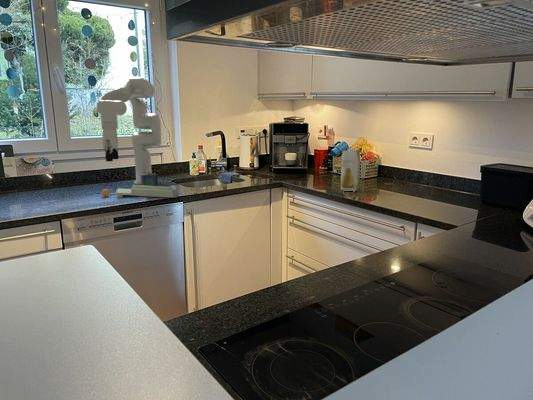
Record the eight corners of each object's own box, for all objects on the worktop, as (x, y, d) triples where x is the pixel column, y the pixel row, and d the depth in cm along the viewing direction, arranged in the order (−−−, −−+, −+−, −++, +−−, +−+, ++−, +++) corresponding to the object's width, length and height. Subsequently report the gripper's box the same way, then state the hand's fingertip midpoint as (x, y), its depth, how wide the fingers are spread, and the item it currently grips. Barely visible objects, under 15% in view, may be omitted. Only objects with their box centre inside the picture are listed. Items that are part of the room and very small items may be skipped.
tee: (103, 199, 211) (103, 196, 211) (109, 198, 212) (108, 195, 212) (103, 200, 209) (103, 197, 209) (108, 199, 210) (108, 196, 209)
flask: (141, 190, 232) (140, 172, 229) (141, 189, 234) (140, 171, 232) (158, 189, 234) (157, 171, 232) (157, 188, 237) (156, 170, 235)
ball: (102, 196, 212) (101, 188, 211) (110, 195, 213) (109, 188, 212) (101, 197, 208) (100, 190, 207) (109, 197, 209) (109, 189, 208)
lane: (118, 196, 217) (117, 185, 216) (175, 193, 225) (174, 182, 224) (116, 201, 207) (115, 189, 206) (176, 197, 215) (176, 186, 214)
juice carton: (339, 191, 228) (340, 148, 223) (343, 189, 235) (345, 147, 230) (355, 193, 224) (357, 149, 219) (359, 190, 230) (361, 148, 225)
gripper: (107, 125, 211) (110, 158, 214) (96, 126, 194) (99, 162, 197) (122, 125, 211) (124, 158, 215) (112, 126, 194) (115, 162, 198)
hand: (112, 160), depth 206 cm, fingers open, 9 cm apart
